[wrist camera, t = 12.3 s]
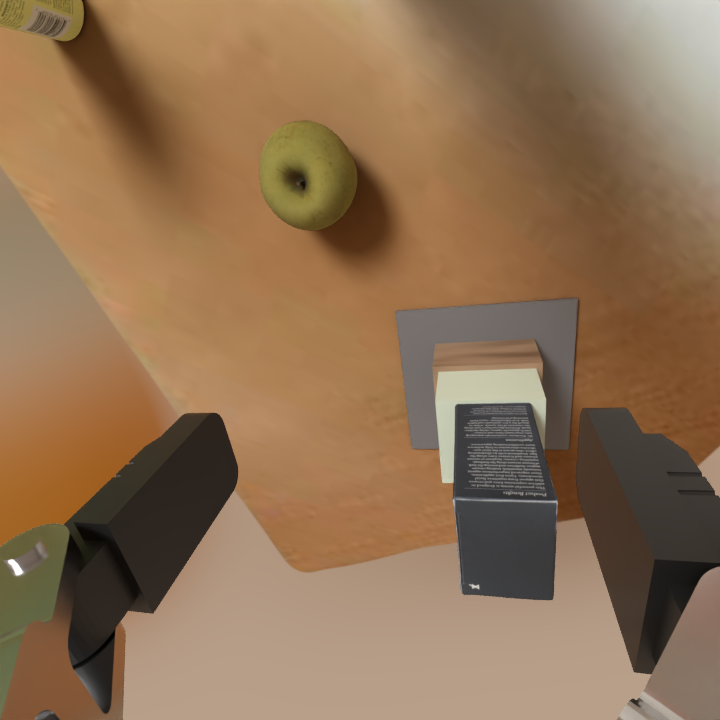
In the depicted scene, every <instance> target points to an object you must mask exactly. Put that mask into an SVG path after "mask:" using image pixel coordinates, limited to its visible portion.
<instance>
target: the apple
mask: <svg viewBox="0 0 720 720" xmlns="http://www.w3.org/2000/svg"><path fill="white" fill-rule="evenodd" d="M259 179H260V186H261V191H262V194H263V197H264V199H265V201H266V202H267V204H268V205H269V207H270V208H271V209H272V211H273V212H274V213H275V214H276V215H277V216H278V217H279V218H280V219H281V220H283V221H284V222H285V223H287V224H289V225H291V226H293V227H295V228H298V229H302V230H310V231H313V230H320V229H324V228H326V227H329V226H331V225H332V224H334V223H335V222H337V221H338V220H339V219H340V218H341V217H342V216H343V215H344V214H345V213H346V211H347V210H348V208H349V207H350V205H351V203H352V201H353V199H354V196H355V193H356V189H357V179H358V177H357V169H356V165H355V162H354V160H353V158H352V156H351V154H350V152H349V151H348V149H347V147H346V146H345V144H344V143H343V141H342V140H341V139H340V138H339V137H338V136H337V135H336V134H335V133H334V132H333V131H332V130H330V129H329V128H328V127H326V126H324V125H322V124H319V123H316V122H312V121H306V120H305V121H295V122H291V123H288V124H286V125H284V126H282V127H280V128H279V129H278V130H276V131H275V132H274V133H273V134H272V135H271V136H270V137H269V139H268V141H267V142H266V144H265V146H264V149H263V151H262V155H261V160H260V168H259Z"/></svg>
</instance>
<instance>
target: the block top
mask: <svg viewBox="0 0 720 720" xmlns="http://www.w3.org/2000/svg"><path fill="white" fill-rule="evenodd" d="M478 403H481V404H483V403H530V404H531V405H532V409H533V413H534V417H535V420H536V424H537V428H538V431H539V435H540V439H541V443H542V446H543V450H544V451H545V421H546V397H545V394H544V391H543V388H542V385H541V382H540V379H539V375H538V372H537V369H536V368H533V369H505V370H478V371H450V372H438V381H437V390H436V399H435V405H436V416H437V427H438V439H439V450H440V462H441V473H442V483H453V481H454V443H455V439H454V438H455V406H456V405H457V404H478Z"/></svg>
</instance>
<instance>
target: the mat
mask: <svg viewBox="0 0 720 720" xmlns="http://www.w3.org/2000/svg"><path fill="white" fill-rule="evenodd" d="M577 308H578V299H577V298H568V299H554V300H540V301H526V302H513V303H499V304H485V305H471V306H457V307H443V308H429V309H415V310H401V311H396V320H397V328H398V336H399V345H400V353H401V361H402V370H403V378H404V386H405V395H406V403H407V411H408V420H409V428H410V436H411V445H412V449H439V439H438V427H437V416H436V405H435V393H434V382H433V370H432V365H433V358H434V350H435V344H441V343H460V342H479V341H499V340H518V339H535V342H536V345H537V348H538V350H539V353H540V356H541V359H542V362H543V377H542V388H543V391H544V394H545V397H546V421H545V450H569V439H570V423H571V407H572V390H573V374H574V357H575V341H576V324H577Z"/></svg>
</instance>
